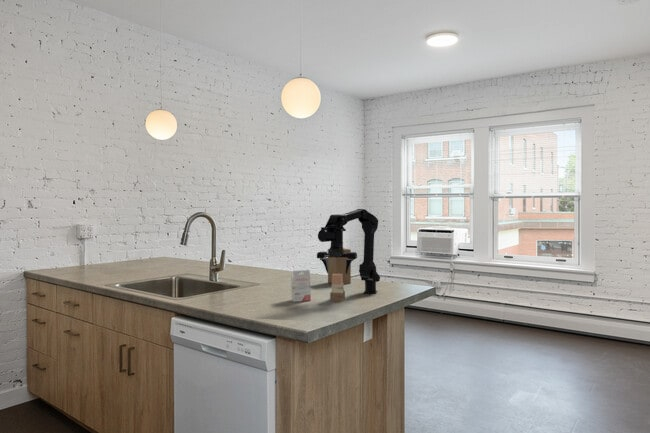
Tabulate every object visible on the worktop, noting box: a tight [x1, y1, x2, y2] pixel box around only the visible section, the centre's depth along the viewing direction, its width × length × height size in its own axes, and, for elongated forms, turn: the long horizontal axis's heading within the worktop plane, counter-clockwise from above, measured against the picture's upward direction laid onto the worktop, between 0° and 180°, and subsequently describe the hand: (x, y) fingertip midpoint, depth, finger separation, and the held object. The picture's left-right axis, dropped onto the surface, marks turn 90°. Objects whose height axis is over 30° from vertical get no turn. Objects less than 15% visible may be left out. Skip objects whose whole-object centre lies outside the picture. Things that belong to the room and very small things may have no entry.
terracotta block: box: [331, 274, 343, 285], centre depth 223 cm, size 4×4×4 cm
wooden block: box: [327, 247, 352, 285], centre depth 271 cm, size 10×10×20 cm
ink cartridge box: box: [290, 269, 312, 302], centre depth 223 cm, size 9×5×15 cm, turn 105°
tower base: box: [329, 290, 346, 302], centre depth 223 cm, size 6×6×4 cm
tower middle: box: [331, 283, 345, 293], centre depth 223 cm, size 5×5×4 cm
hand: (337, 273), depth 223 cm, fingers open, 9 cm apart
